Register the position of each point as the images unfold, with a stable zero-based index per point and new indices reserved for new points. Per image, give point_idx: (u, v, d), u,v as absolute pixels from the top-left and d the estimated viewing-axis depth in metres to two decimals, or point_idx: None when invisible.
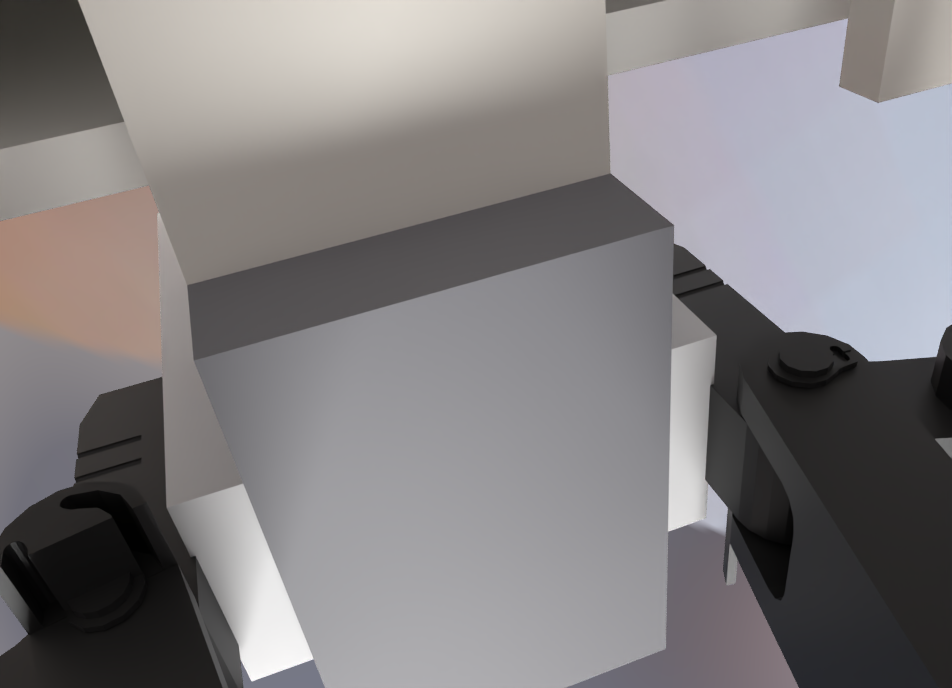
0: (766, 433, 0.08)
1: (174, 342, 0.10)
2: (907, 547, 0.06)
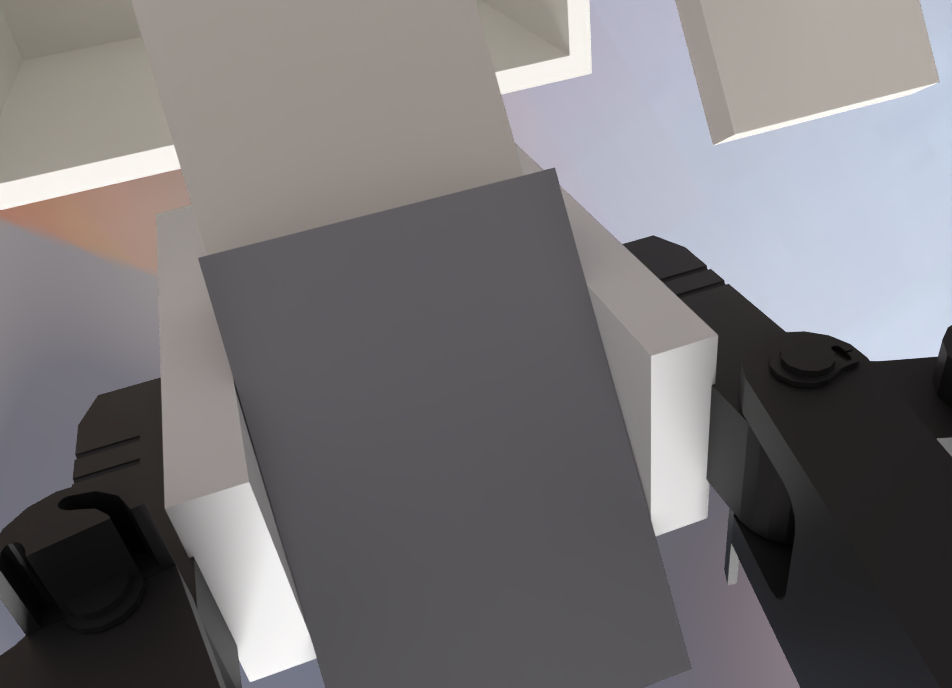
0: (768, 433, 0.08)
1: (173, 342, 0.10)
2: (909, 547, 0.06)
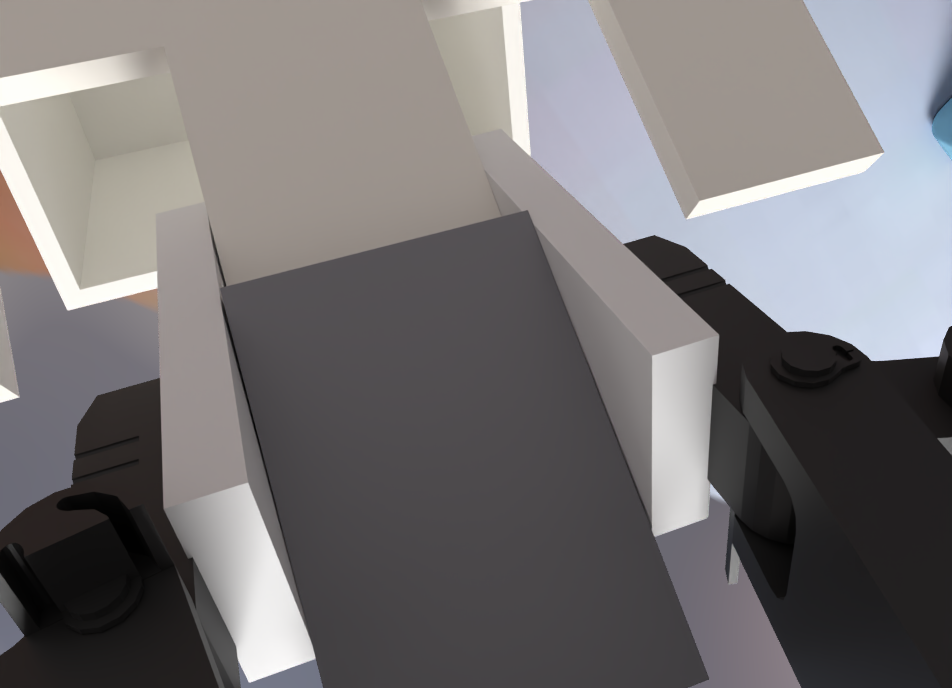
0: (768, 432, 0.08)
1: (172, 343, 0.10)
2: (909, 546, 0.06)
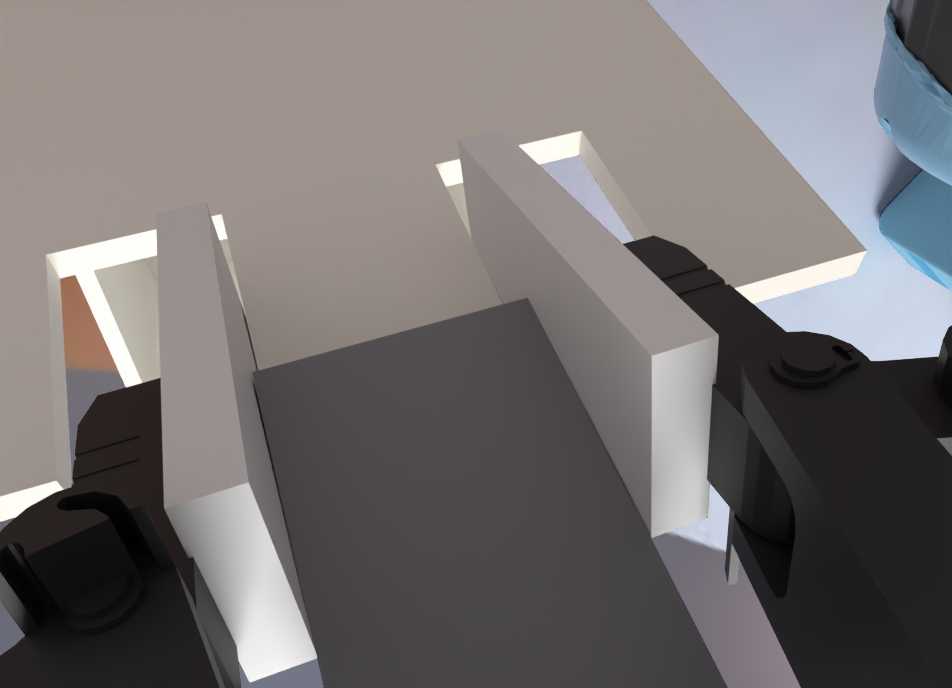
0: (768, 432, 0.08)
1: (173, 343, 0.10)
2: (909, 546, 0.06)
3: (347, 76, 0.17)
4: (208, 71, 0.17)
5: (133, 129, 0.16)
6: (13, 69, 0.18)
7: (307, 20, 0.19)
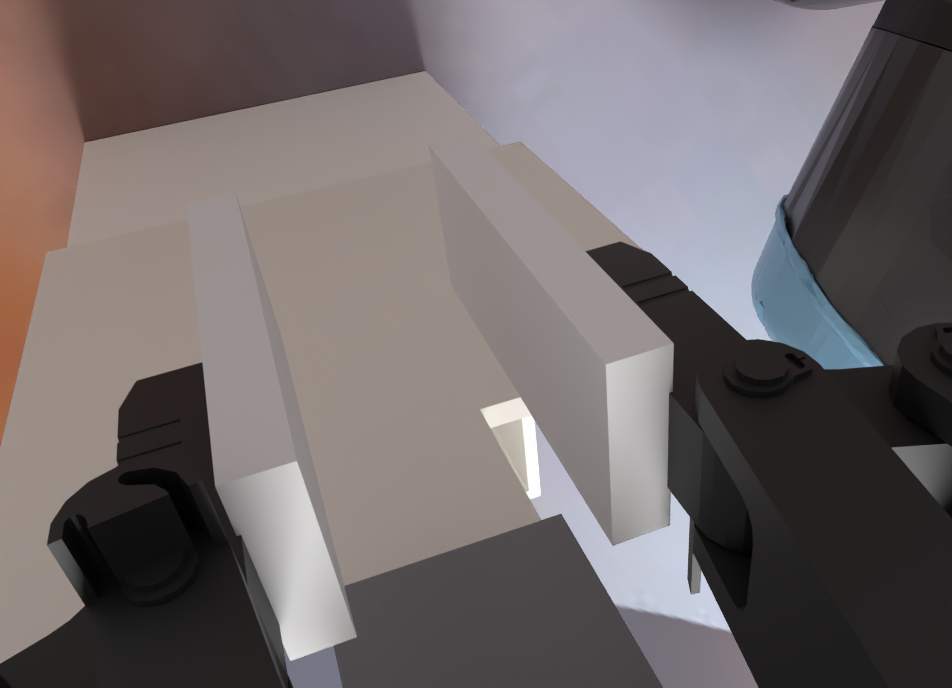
0: (723, 443, 0.08)
1: (212, 328, 0.10)
2: (863, 557, 0.06)
3: (403, 342, 0.20)
4: (288, 348, 0.21)
5: None
6: (130, 359, 0.21)
7: (370, 301, 0.22)
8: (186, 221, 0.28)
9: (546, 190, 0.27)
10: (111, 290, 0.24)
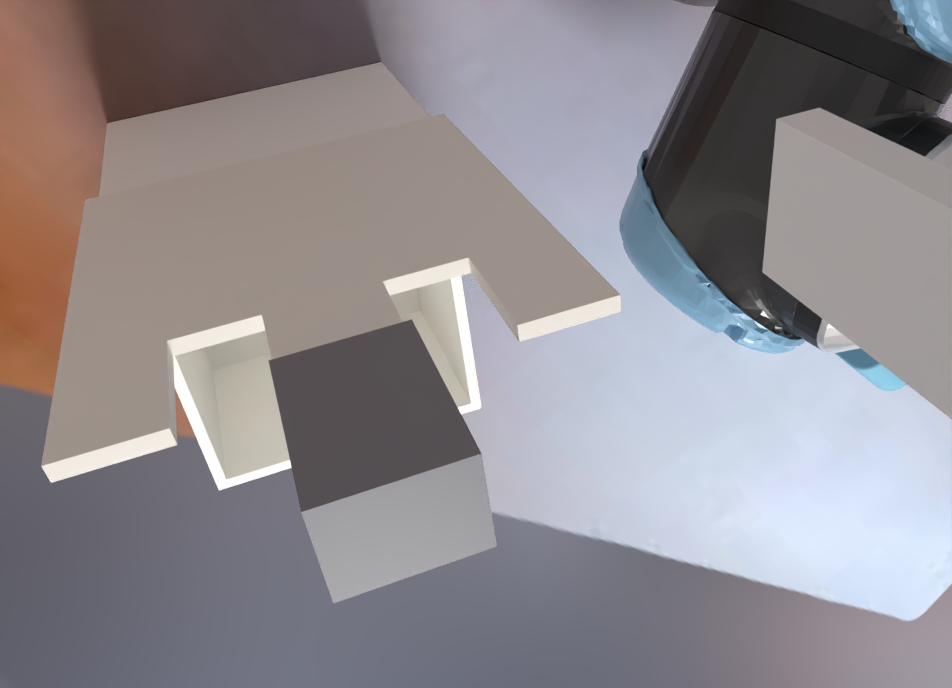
0: None
1: None
2: None
3: (338, 246, 0.30)
4: (259, 252, 0.30)
5: (216, 282, 0.29)
6: (150, 263, 0.31)
7: (318, 222, 0.32)
8: (188, 176, 0.37)
9: (455, 148, 0.36)
10: (135, 222, 0.34)
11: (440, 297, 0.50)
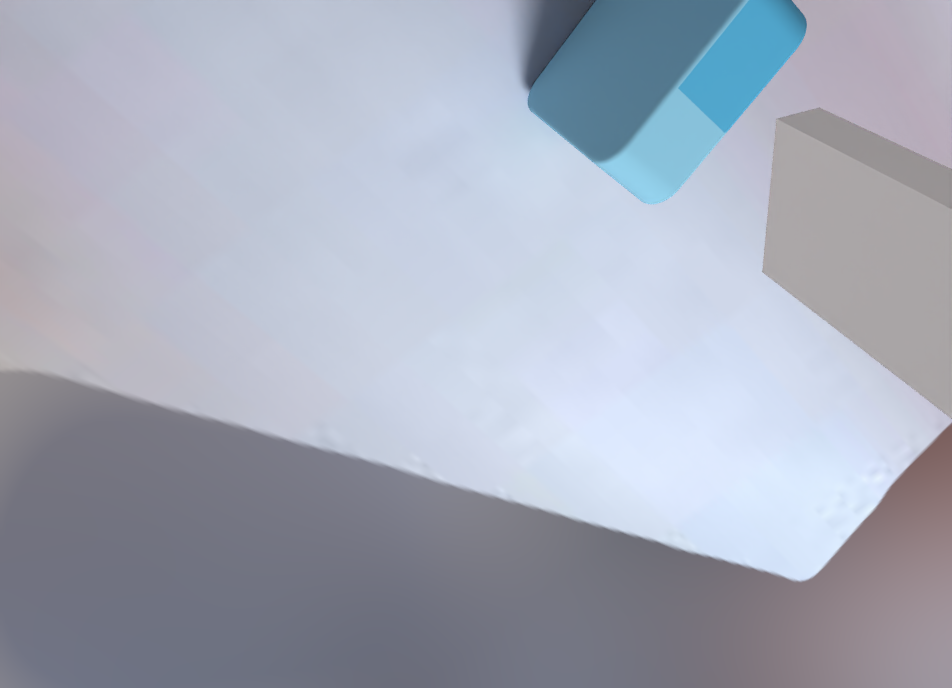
0: None
1: None
2: None
3: None
4: None
5: None
6: None
7: None
8: None
9: None
10: None
11: None
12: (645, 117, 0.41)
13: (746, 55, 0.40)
